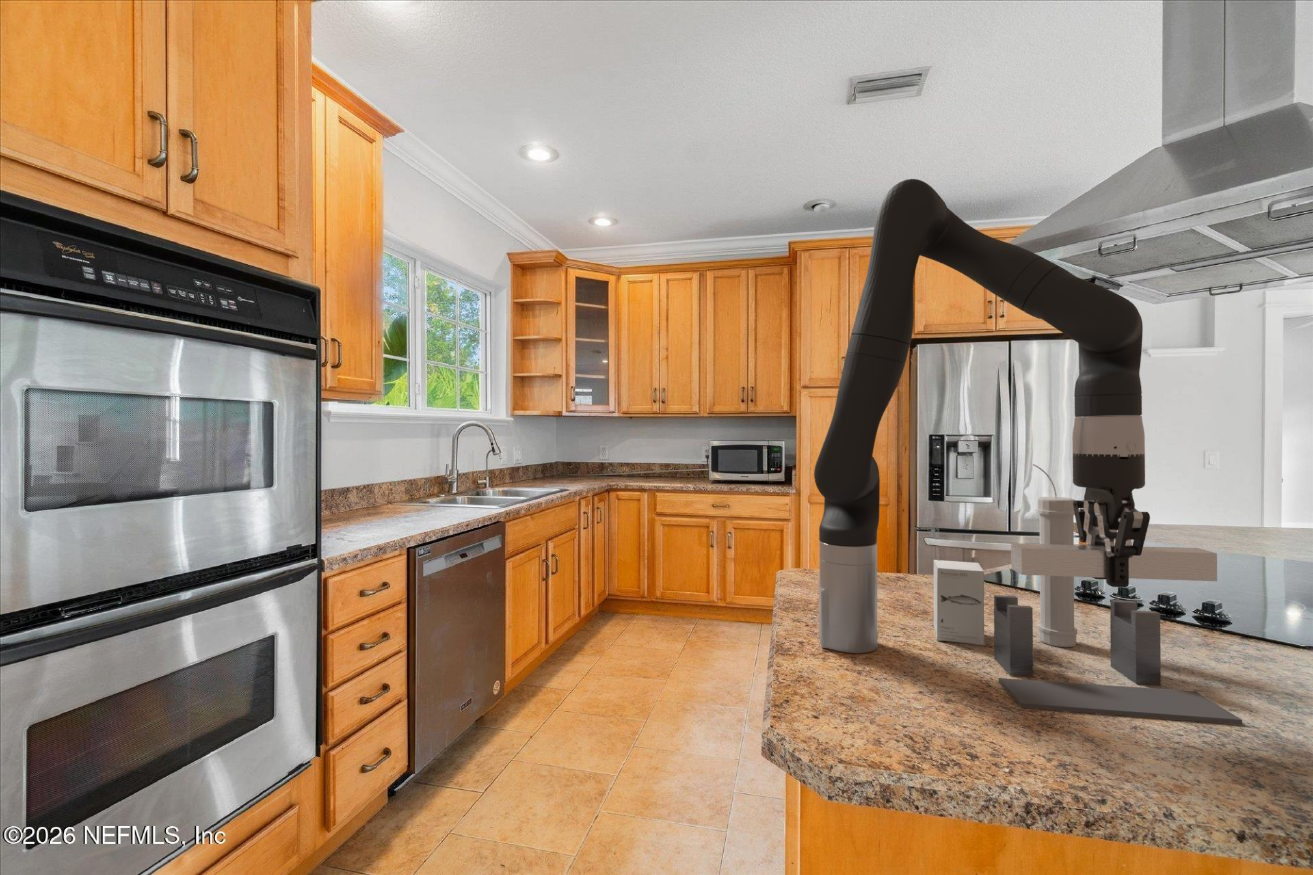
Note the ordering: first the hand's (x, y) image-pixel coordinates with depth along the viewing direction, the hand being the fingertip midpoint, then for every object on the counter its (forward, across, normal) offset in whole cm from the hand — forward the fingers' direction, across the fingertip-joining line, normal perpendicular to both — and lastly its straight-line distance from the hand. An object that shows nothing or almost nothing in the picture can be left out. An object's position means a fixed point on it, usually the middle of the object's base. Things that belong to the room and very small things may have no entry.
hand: (1108, 581), depth 77 cm
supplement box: (+16, -23, -12) cm, 30 cm away
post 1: (+16, -10, -8) cm, 20 cm away
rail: (-1, 0, 0) cm, 1 cm away
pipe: (+16, -23, +3) cm, 28 cm away
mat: (+16, 0, 0) cm, 16 cm away
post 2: (+16, -10, +8) cm, 20 cm away
